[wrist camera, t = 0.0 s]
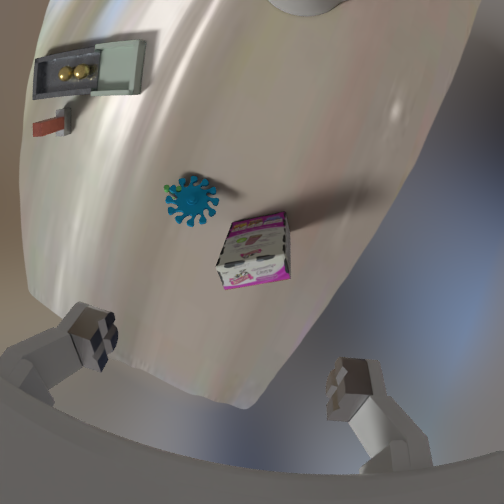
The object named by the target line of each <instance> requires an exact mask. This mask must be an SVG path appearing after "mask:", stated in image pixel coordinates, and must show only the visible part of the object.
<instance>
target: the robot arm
mask: <svg viewBox="0 0 504 504" xmlns="http://www.w3.org/2000/svg"><path fill="white" fill-rule="evenodd" d="M268 1H269V2H270V3H272V4H273V5H274V6H275V7H277V8H278V9H280V10H282V11H284V12H287V13H289V14H293V15H298V16H315V15H320V14H323V13H326V12H328V11H330V10H331V9H333V8H334V7H335V6H336V5H338V4H339V3H341V2H343V1H347V0H268ZM114 321H115V316H114V313H113V312H110V311H107V310H104V309H101V308H98V307H95V306H92V305H89V304H86V303H83V302H80V301H79V302H77V303H76V304H75V305H74V306H73V307H72V309H71V310H70V311H69V312H68V314H67V315H66V316H65V317H64V319H63V320H62V321H61V323H60V324H59V325H58V326H57V328H54V327H53V328H50V329H48V330H46V331H44V332H42V333H40V334H37V335H35V336H33V337H30V338H28V339H26V340H24V341H21V342H19V343H17V344H15V345H13V346H10V347H8V348H7V349H6V350H5V351H4V353H3V354H2V356H1V357H0V504H504V451H496V452H493V453H490V454H486V455H483V456H479V457H475V458H471V459H467V460H463V461H459V462H454V463H449V464H444V465H439V466H433V463H432V457H431V452H430V447H429V442H428V437H427V436H426V435H425V434H424V433H423V432H422V430H421V429H420V428H419V427H418V426H417V425H416V424H415V423H414V422H413V420H412V419H411V418H410V417H409V416H408V415H407V414H406V413H405V412H404V411H403V410H402V408H401V407H400V406H399V405H398V404H397V403H396V402H395V401H394V400H393V398H392V397H390V396H387V393H386V388H385V384H384V379H383V374H382V370H381V366H380V362H379V361H378V360H367V359H358V358H346V357H339V358H338V359H337V360H336V362H335V369H334V370H332V371H330V374H329V376H328V378H327V383H326V396H327V397H328V398H329V399H330V400H329V402H328V403H327V405H326V407H327V420H331V421H345V422H349V425H350V426H351V428H352V429H353V431H354V432H355V434H356V436H357V437H358V439H359V440H360V442H361V443H362V445H363V447H364V448H365V450H366V451H367V453H368V454H369V456H370V457H371V460H369V461H368V462H367V463H365V464H364V465H363V466H362V467H361V468H359V474H350V475H321V474H318V475H317V474H298V473H284V472H274V471H264V470H256V469H248V468H242V467H236V466H230V465H223V464H219V463H214V462H209V461H204V460H199V459H195V458H191V457H187V456H183V455H179V454H175V453H171V452H167V451H163V450H161V449H157V448H153V447H150V446H147V445H144V444H141V443H138V442H135V441H132V440H129V439H126V438H124V437H120V436H118V435H115V434H113V433H110V432H107V431H105V430H102V429H100V428H98V427H95V426H93V425H90V424H88V423H85V422H83V421H81V420H79V419H77V418H75V417H72V416H70V415H68V414H66V413H64V412H62V411H60V410H58V409H56V408H54V407H53V405H54V403H55V401H54V398H53V397H52V395H51V394H50V393H49V391H48V390H49V389H51V388H52V387H54V386H55V385H57V384H58V383H60V382H61V381H63V380H64V379H66V378H67V377H69V376H70V375H72V374H73V373H75V372H76V371H78V370H79V369H81V368H82V366H84V367H86V368H89V369H92V370H95V371H98V372H102V370H103V369H104V367H105V365H106V363H107V361H108V356H107V354H109V353H111V352H113V351H114V349H115V347H116V345H117V341H118V329H117V327H116V326H115V325H114V324H113V323H114Z"/></svg>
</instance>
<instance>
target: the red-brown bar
mask: <svg viewBox="0 0 504 504" xmlns="http://www.w3.org/2000/svg"><path fill="white" fill-rule="evenodd" d="M53 132H56V136H66V135H69V134H71V108H63V109H59V110H56V117H54V118H50V119H46V120H43V121H39V122H36V123H33V137H38V136H44V135H47V134H50V133H53Z"/></svg>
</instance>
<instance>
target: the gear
mask: <svg viewBox="0 0 504 504" xmlns="http://www.w3.org/2000/svg"><path fill="white" fill-rule="evenodd" d="M197 179H198V178H197V177H196V176H191V182H190V184H189V186H188V187H184V185H185V183H186V180H185V178H181V179H179V184H180V185H181V186H177V187H176V186H175V185H172V186H171V187H169V185H165V186H164V190H165V192H169V194H170V195H171V196H172V197H173V199H175V198H176V199H177V200H173V199H172V197H171V196H169V195H168V196H167V197H166V200H165V201H166V203H168V204H169V203H173V204H176V205H177V206H178V208H177V209H174V208H172V207H168V213H169V215H172V214H174V213H176V212H183V213H184V214H183V215H182V216H176V217H175V220H176V222H177V223H178V224H180V223H181V222H182V220H183V219H184V218H185V217H187V216H189V215H190V216H192V218H191V219H189V220H188V221H187V225H188V226H190V227H193V226H194V218H195V217H196V215H198V214H200V215H201V218H200V219H199V223H200V224H205V223H206V218H205V217H204V214H203V211H204V209H208V210H209V216H210V217H212V216H214V215H215V214H216V211H215V210H214V209H212V208H210V207H209V205H208V204H207V202H208V201H211V202H212V203H213V205H214V206H217V205H218V202H219V199H218V198H210V197H208V196H207V195H206V194H207V193H210V194H212V195H215V194H216V188H215V187H212V188H210V189H207V190H203V189H201V187H202V186H208V185H209V182H208V180H207V179H203V180H202V182H201V183H200V184H199V185H197V186H193V184H194V183H196V182H197Z"/></svg>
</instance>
